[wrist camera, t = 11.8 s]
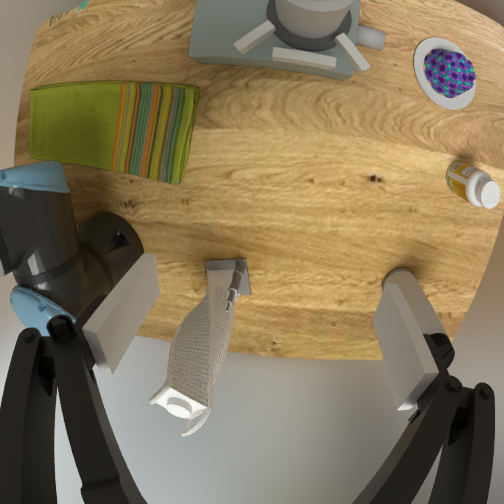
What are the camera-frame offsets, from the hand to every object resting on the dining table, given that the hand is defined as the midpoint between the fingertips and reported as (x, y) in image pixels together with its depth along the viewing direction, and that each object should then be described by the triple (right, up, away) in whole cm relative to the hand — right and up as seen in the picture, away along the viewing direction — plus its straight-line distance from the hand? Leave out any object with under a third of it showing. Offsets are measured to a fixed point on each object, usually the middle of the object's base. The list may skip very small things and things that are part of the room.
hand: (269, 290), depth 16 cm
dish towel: (-27, +24, +24) cm, 43 cm away
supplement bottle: (+32, +14, +20) cm, 41 cm away
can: (+6, +30, +8) cm, 31 cm away
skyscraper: (-5, -3, +34) cm, 35 cm away
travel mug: (+25, -3, +31) cm, 39 cm away
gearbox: (+5, +33, +14) cm, 36 cm away
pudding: (+28, +29, +13) cm, 43 cm away
